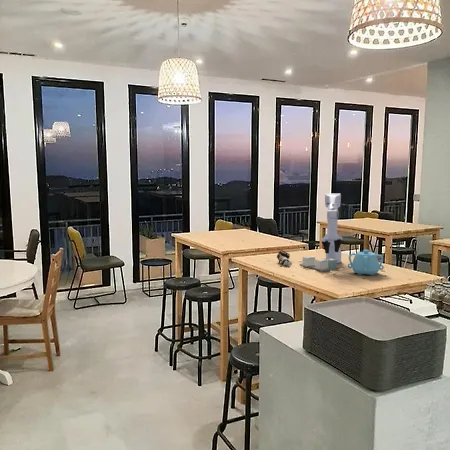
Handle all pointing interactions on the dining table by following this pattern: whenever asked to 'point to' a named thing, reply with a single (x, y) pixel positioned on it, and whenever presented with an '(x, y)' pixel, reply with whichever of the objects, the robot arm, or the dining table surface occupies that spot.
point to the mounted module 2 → (321, 264)
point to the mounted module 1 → (308, 260)
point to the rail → (315, 268)
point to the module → (332, 264)
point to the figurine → (284, 257)
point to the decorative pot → (365, 263)
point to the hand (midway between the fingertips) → (331, 252)
